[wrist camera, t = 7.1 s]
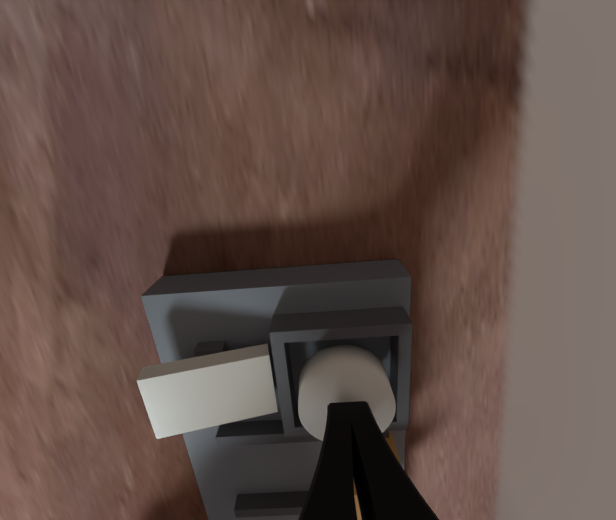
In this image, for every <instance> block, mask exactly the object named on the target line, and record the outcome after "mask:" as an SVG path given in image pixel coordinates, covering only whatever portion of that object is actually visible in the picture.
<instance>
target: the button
mask: <svg viewBox="0 0 616 520" xmlns="http://www.w3.org/2000/svg"><path fill="white" fill-rule="evenodd" d="M356 401H366V402H367V403H368V404H369V406H370V409H371V411H372V414H373V416H374V418H375V420H376V422H377V424H378V426H379V428H380V430H381V432H382V433H383V432H384V431H385V430H386V429H387V428H388V427H389V425H390V424H391V422H392V420H393V418H394V415H395V410H396V403H395V398H394V395H393V392H392V389H391V386H390V383H389V380H388V377H387V373H386V370H385V368H384V365H383V364H382V362H381V361H380V360H379V358H378V357H377V356H376V355H374V354H373V353H372V352H370V351H368V350H366V349H364V348H361V347H358V346H354V345H335V346H330V347H327V348H324V349H322V350H320V351H318V352H317V353H315V354H314V355H312V356H311V357H310V358H309V359H308V360H307V361H306V363H305V364H304V366H303V368H302V370H301V373H300V378H299V397H298V414H299V418H300V421H301V423H302V425H303V427H304V428H305V429H306V430H307V431H308V432H309V433H310V434H311V435H312V436H314V437H315V438H317V439H319V440H321V441H323V438H324V433H325V428H326V421H327V406H328V405H329V404H330V403H338V402H356Z"/></svg>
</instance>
